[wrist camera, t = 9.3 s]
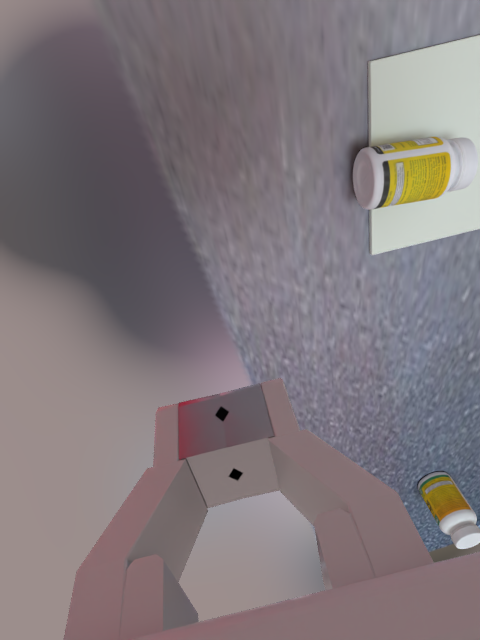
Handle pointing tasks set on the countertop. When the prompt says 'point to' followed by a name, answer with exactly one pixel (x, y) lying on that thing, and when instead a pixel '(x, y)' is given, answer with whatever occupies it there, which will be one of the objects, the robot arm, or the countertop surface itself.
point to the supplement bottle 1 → (413, 170)
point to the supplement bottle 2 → (450, 509)
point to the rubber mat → (426, 134)
